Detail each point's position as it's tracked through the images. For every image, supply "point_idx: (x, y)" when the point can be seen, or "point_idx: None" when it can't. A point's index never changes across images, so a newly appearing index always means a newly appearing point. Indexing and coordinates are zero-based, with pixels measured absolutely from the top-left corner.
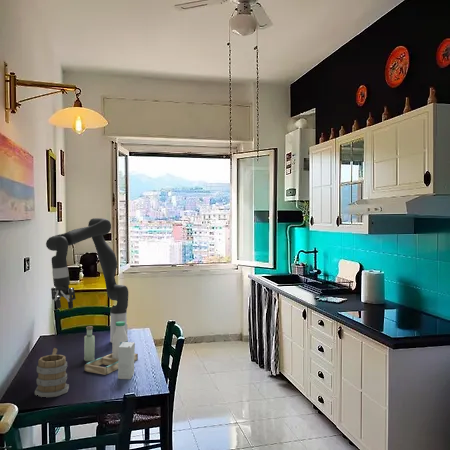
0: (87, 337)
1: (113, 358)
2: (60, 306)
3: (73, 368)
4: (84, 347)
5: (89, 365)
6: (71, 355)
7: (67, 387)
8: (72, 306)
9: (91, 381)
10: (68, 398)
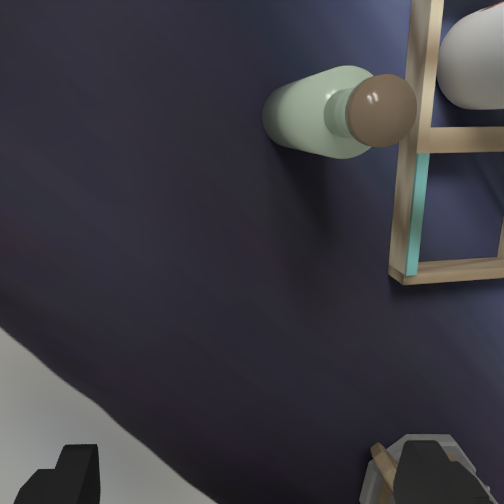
0: (355, 154)
1: (472, 106)
2: (91, 462)
3: (313, 272)
4: (294, 145)
5: (433, 282)
6: (122, 95)
7: (470, 463)
8: (470, 487)
9: (487, 348)
10: (498, 483)
